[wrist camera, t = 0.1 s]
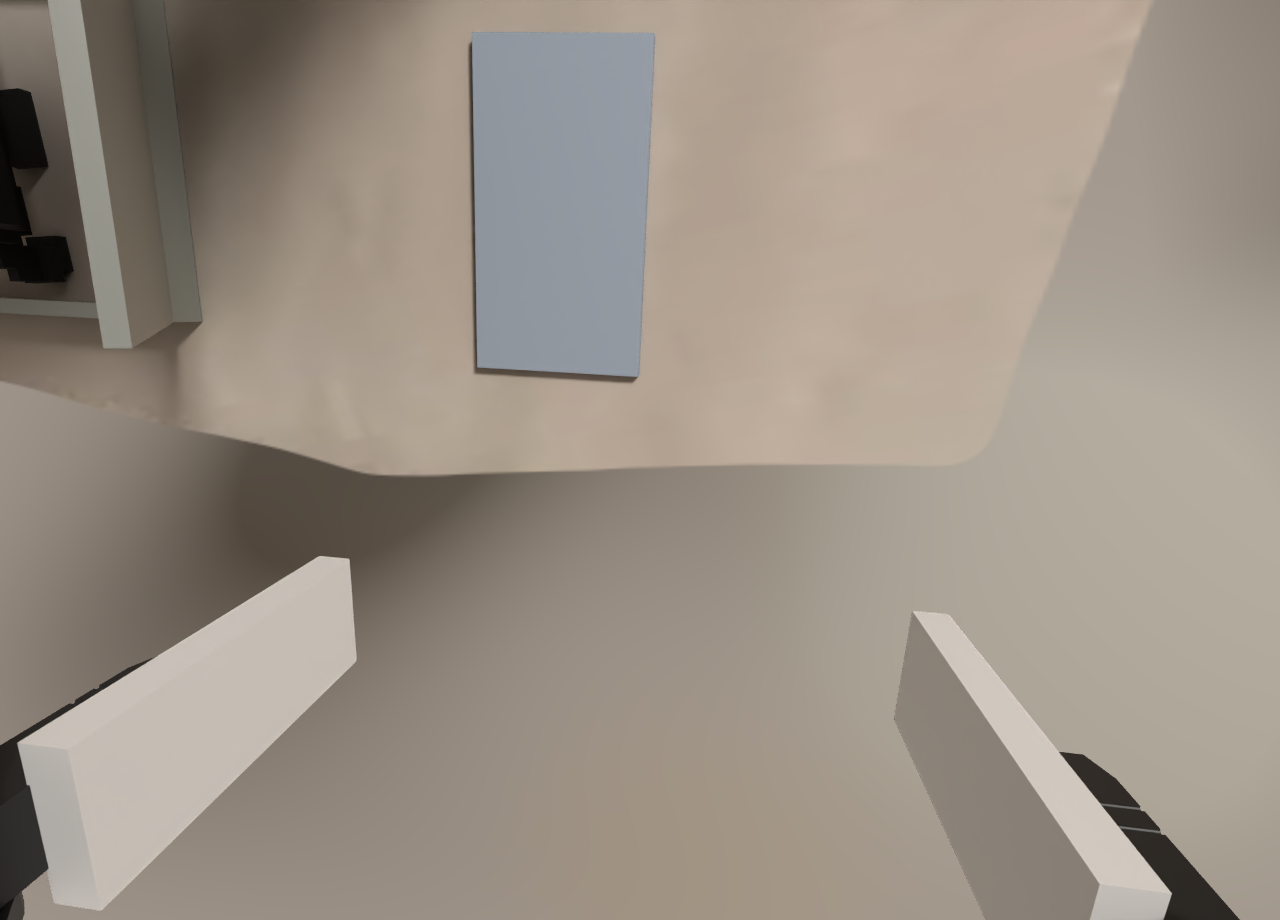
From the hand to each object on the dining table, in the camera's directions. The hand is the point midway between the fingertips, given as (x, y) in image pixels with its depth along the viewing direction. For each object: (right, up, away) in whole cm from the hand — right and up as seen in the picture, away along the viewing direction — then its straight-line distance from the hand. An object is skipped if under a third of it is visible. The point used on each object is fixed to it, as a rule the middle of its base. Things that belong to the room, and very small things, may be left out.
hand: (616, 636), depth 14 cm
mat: (-4, +20, +25) cm, 32 cm away
